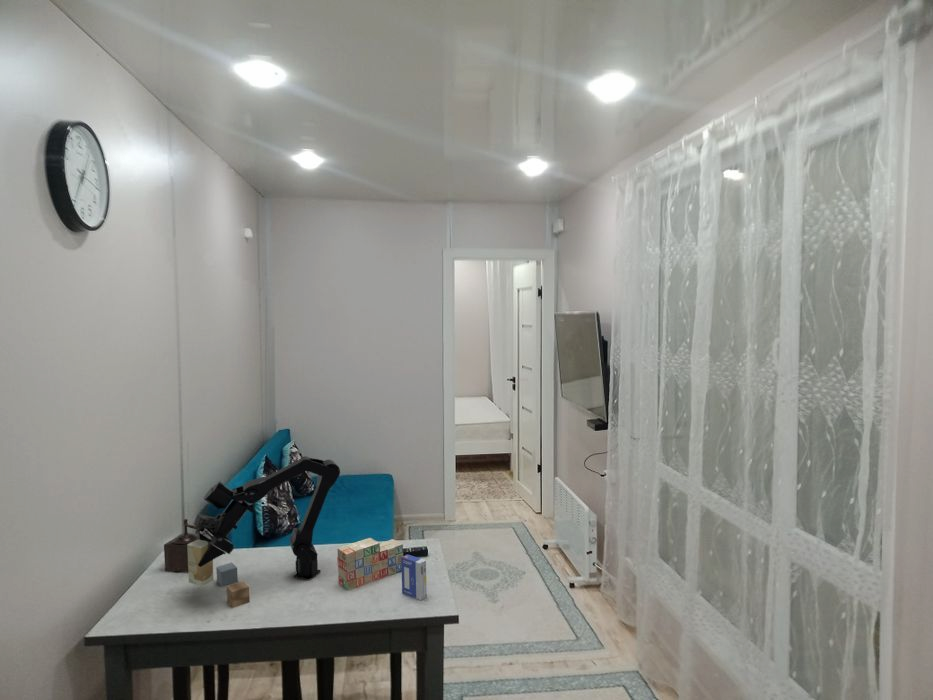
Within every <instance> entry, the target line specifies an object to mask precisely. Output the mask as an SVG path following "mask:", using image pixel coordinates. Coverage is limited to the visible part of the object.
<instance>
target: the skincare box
mask: <svg viewBox="0 0 933 700" xmlns="http://www.w3.org/2000/svg"><path fill="white" fill-rule="evenodd" d="M210 543H211V542H210ZM187 549H188V572H187V574H188V575H187V576H188V583H190V584H193V585H196V586H199V587H204V586H206V585H207V584H210V583H211V582H212V583H213V582H214V561H213V560H214V559H213V560H212V561H210V562H208V563H207V564H205V565H203V566H202V567H200V566H198V563H199V562H200V560H201V558H202V557H203V555H204V554H205V552H206V550H207V549H208V542H207V541H203V540H196V541H194V542H191V543H189V544H187Z"/></svg>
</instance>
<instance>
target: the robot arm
mask: <svg viewBox="0 0 933 700" xmlns="http://www.w3.org/2000/svg"><path fill="white" fill-rule="evenodd" d="M304 472H310V473H312V474H314V475H317V480H316V481H317V482H316V486H315V489H314V491H313V494H312V496H311V499H310V502H309V503H308V507H307V509H306V512H305V514H304V517H303V520H302V523H301V524H300V526H298V528H296V527H293V528H292V533H291V535H290V537H289V538H288V539H289V545H290V548H291V551H292V553H293V555H294V556H296V560H295V574H294V575H293V577H294V578H296V579H297V578H298V579H302V580H308V581H310V580H312V579H313V578H314V577H316V576H317V575H319V574H320V573H321V572H322V571H321V569H318V567H319V566H318V552H317V550H316V548H315V546H314V544H313V537H314V530H315V526H316V524H317V521H318V519H319V516H320V514H321V511H322V509H323V506H324V503H325V501H326V498H327V496H328V493H329V491H330V489H331V488H332V487H333V486H334V485H335V483H336V482H337V480H338V478H339V477H340V474H341V468H340V466H338V465H337V463H336V462H335V461H334V460H332V459H325V460H322V459H319V458H314V457H313V458H312V457H309V456H306V455H305V456H302V457H300V458H299V459H298V460H295V461H294V462H292V463H289V464H288V465H286V466H283V468H281V469H278V470H276V471H274V472H273V473H270V474H269V475H266V476H264V477H258V478H254V479H251V480H249V481H247V482H245V483H244V484H242V485H240V486H237V487H234V488H232V489H231V488H229V487H228V486H227V485H225V484H224V483H223V482H222V481H218V482H217V483H216V484H214V485H213V486H212V487H211V488H209V489H208V491H207V492H206V493H205V495H204V497H203V500H204V501H206V502H207V503H208V504H210V505H212V506H213V507H215V508H216V509H218V510H220V509H221V510H223V509H224V510H223V511H222V513H221V514H220V513H218V514H216V515H215V516H210V515H205V514H197V515H196V519H195V520H194V523H193V526H195V525H196V528H197V529H198V530H199V531H200V532H199V531H197V533H198V540H203V541H207V542H208V549H207V550H206V552H205V554H204V555H203V557H202V558H201V560H200V562H199V563H198V566H200V567H202V566H203V565H205V564H207V563H208V562H210V561H212V560H215V559H216V558H219V557H222V555H226V554H227V555H230V554H231V553H232V552H233V550H234V544H233V543H232V542H231V541H230V540H229V539H230V538H229V537H228V536H229V535H230V534H231V532H232V531H233V530H237V529H238V525H237V524H238V523H239V522H240V521H241V519H242V518H243V517H244V515H245V514H246V513H247V512H248V511H249V512H251V514H254V513H255V509H254V507H255V504H256V503H258V502H259V501H260V500H262V499H263V498H264V497H266V496H267V495H268V494H269V493H270V492H271V491H272V490H273V489H275V488H276V487H279V486H280V485H282V484H284V483H286V482H288V481H290V480H291V479H293V478H296V477H297V476H299V475H301V474H302V473H304ZM197 529H196V530H197ZM210 542H211V543H210Z"/></svg>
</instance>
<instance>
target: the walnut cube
mask: <svg viewBox="0 0 933 700" xmlns="http://www.w3.org/2000/svg"><path fill="white" fill-rule="evenodd" d="M226 599H227V601H226V602H227V603H228V604H229V605H230V606H231V608H233V609H234V608H237V607H240V606H243V605H246V604H248V603H250V586H249V585H248V584H247V583H246V582H245V581H244V580H242V581H238V582H236V583H233V584H230V585H226Z"/></svg>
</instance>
